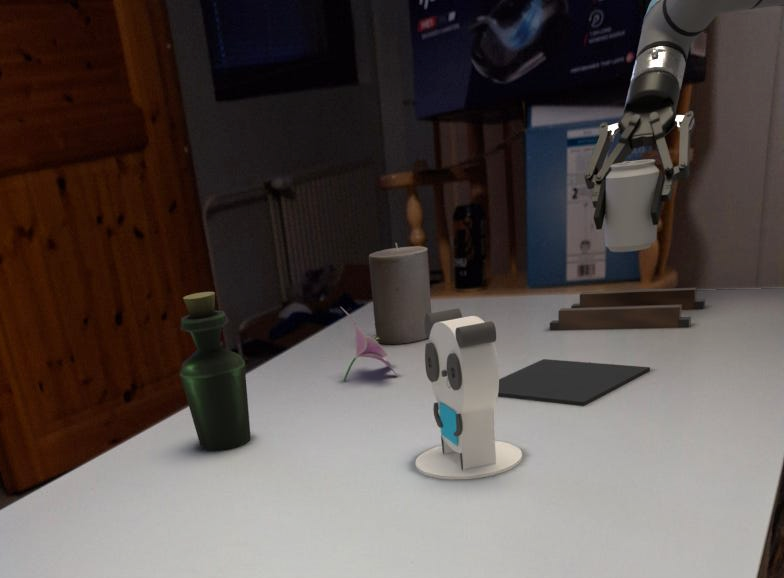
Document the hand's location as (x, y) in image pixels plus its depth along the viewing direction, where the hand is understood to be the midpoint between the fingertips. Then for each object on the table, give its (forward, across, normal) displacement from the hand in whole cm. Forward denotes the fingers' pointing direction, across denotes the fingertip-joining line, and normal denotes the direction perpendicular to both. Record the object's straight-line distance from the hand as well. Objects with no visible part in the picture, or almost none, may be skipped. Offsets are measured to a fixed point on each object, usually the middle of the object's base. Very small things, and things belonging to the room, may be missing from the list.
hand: (625, 221), depth 137 cm
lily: (+32, -29, -10) cm, 44 cm away
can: (+1, 0, +6) cm, 6 cm away
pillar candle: (+15, -34, +6) cm, 38 cm away
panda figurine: (+54, -2, -33) cm, 64 cm away
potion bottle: (+53, -35, -32) cm, 71 cm away
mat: (+33, 0, -12) cm, 35 cm away
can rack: (+8, 0, +13) cm, 15 cm away
